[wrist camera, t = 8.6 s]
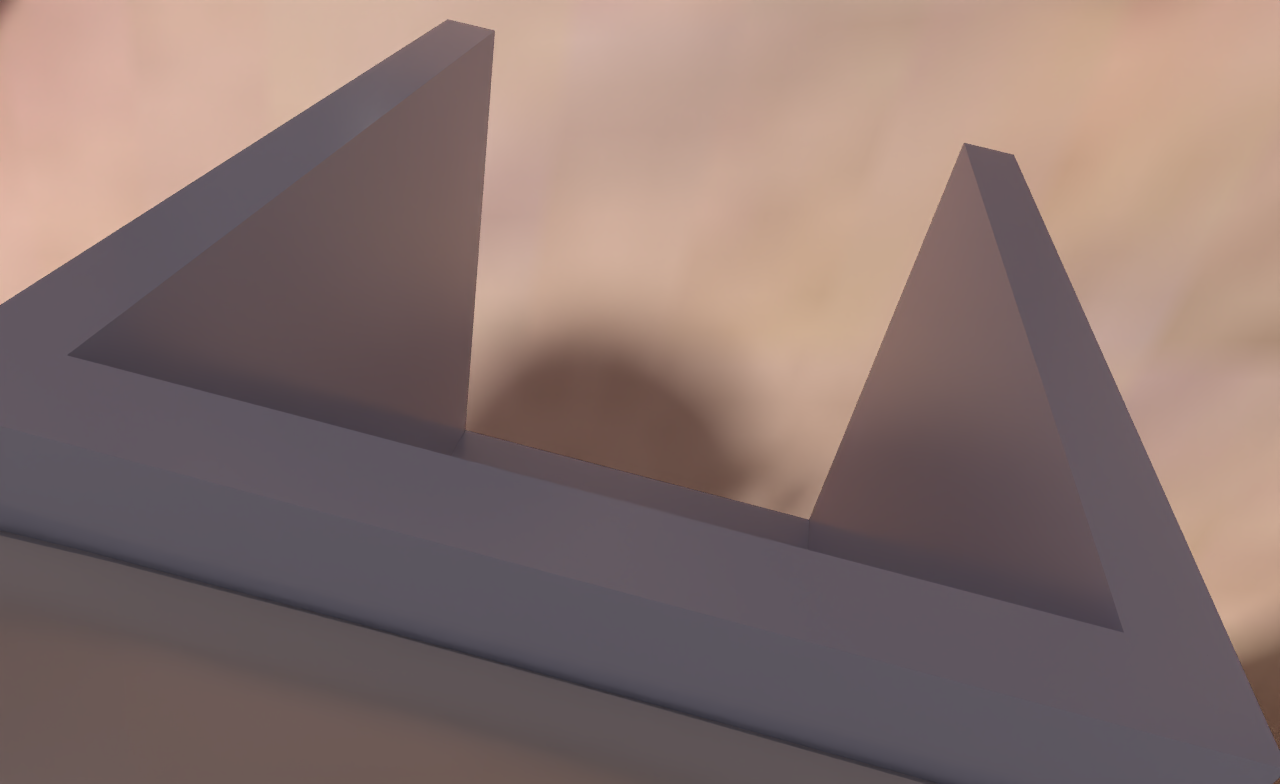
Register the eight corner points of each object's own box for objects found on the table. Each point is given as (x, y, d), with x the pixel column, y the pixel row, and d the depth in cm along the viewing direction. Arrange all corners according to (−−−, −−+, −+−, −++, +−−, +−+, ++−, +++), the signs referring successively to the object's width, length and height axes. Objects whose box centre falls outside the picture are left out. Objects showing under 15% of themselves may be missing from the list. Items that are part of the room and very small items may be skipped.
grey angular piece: (833, 554, 15) (828, 1171, 8) (429, 448, 15) (117, 961, 9) (1014, 154, 10) (1287, 768, 4) (447, 19, 11) (-134, 389, 4)
